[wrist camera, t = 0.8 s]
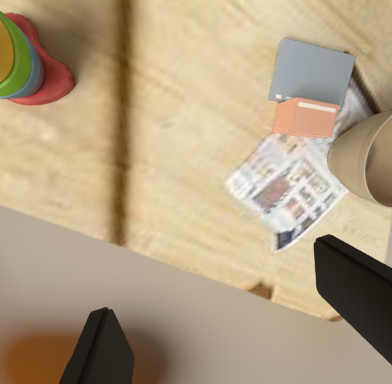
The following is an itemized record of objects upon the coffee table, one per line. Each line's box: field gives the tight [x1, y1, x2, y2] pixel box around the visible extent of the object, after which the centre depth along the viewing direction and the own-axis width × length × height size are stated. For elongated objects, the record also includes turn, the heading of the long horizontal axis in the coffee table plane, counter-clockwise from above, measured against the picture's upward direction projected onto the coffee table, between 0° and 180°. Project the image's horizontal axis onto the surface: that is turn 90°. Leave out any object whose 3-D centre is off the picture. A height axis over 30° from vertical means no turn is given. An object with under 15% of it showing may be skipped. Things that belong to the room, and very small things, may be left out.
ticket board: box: [268, 38, 356, 111], centre depth 34 cm, size 9×14×2 cm, turn 83°
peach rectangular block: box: [273, 97, 340, 138], centre depth 34 cm, size 5×8×5 cm, turn 83°
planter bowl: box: [327, 109, 392, 209], centre depth 35 cm, size 16×16×11 cm
